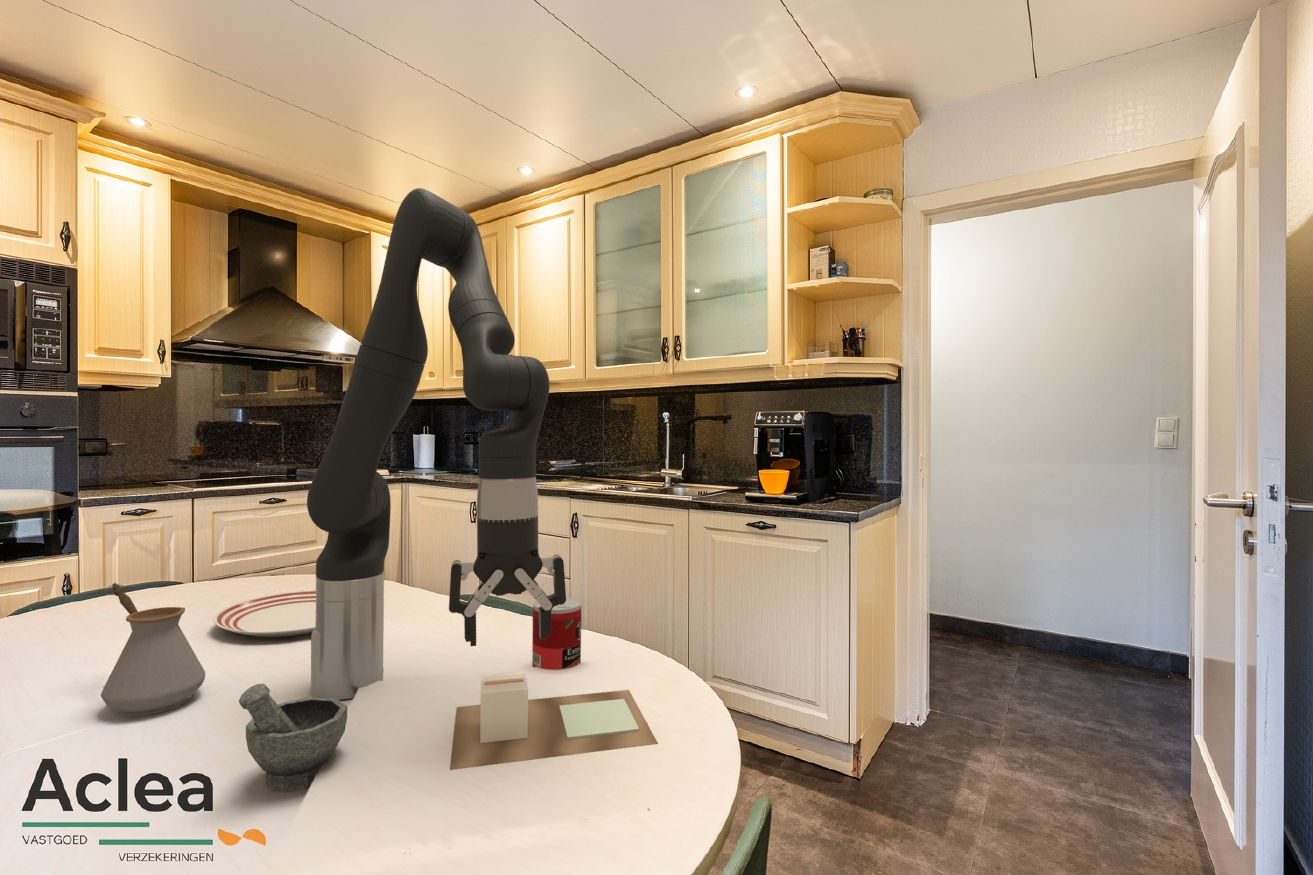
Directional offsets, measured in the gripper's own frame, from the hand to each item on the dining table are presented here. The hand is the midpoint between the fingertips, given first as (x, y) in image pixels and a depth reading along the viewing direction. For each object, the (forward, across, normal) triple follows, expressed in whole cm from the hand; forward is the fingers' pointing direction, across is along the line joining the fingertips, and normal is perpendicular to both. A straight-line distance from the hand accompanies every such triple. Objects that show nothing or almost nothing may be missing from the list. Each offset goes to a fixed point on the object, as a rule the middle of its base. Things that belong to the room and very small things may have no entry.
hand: (508, 640), depth 78 cm
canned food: (+13, +9, +22) cm, 27 cm away
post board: (+13, +5, 0) cm, 14 cm away
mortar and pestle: (+12, -24, -3) cm, 27 cm away
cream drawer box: (+11, -1, 0) cm, 11 cm away
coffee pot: (+12, -51, +27) cm, 59 cm away
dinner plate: (+12, -39, +59) cm, 72 cm away
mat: (+11, +11, 0) cm, 16 cm away
